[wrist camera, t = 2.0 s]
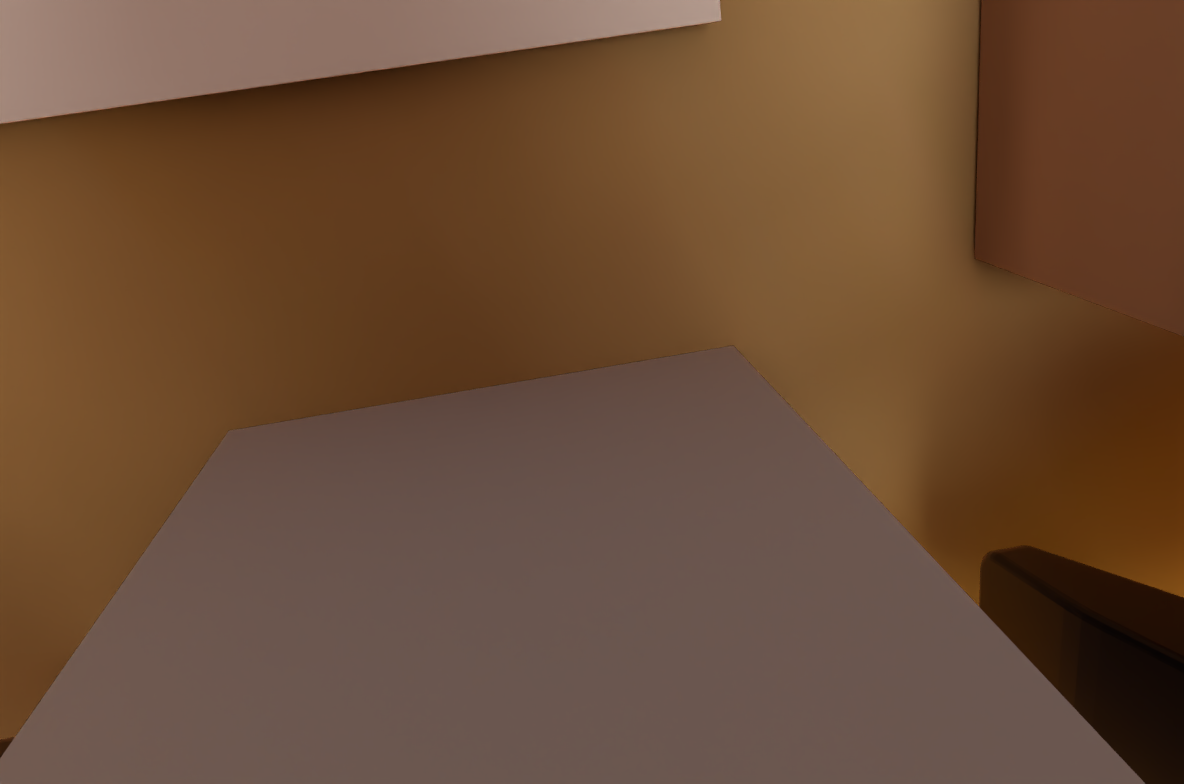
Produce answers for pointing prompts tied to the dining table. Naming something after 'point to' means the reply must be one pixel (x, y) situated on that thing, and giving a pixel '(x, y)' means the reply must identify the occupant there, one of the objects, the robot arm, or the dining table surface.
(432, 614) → the slate block
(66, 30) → the plaque
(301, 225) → the dining table surface
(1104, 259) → the walnut base block
